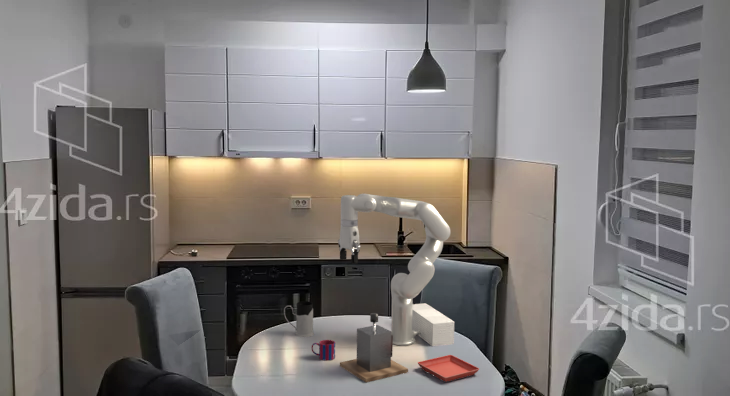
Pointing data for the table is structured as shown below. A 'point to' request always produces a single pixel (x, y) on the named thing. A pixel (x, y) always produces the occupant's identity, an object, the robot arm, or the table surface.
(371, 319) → the plunger
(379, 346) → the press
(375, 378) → the board
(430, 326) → the white rectangular block
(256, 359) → the table surface
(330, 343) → the mug
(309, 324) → the grey and black pitcher
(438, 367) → the plant saucer
